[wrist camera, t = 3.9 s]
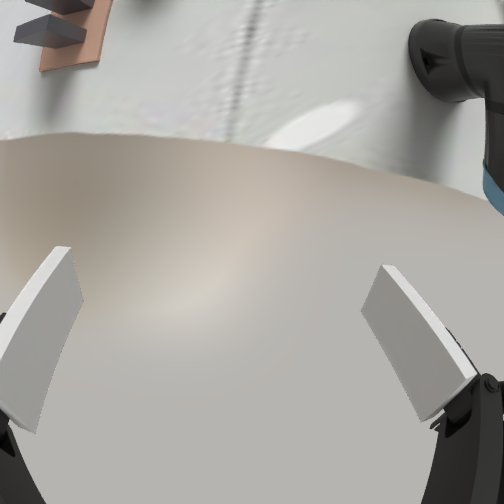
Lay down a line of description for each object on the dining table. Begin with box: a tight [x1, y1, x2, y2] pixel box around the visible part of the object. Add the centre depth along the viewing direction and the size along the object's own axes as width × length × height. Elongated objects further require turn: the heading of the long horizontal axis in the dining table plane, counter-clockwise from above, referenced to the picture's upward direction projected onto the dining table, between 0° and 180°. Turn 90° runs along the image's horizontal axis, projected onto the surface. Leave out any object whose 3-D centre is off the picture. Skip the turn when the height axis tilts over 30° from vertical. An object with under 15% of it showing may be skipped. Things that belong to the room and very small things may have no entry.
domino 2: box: [13, 14, 87, 49], centre depth 16 cm, size 2×5×10 cm, turn 81°
